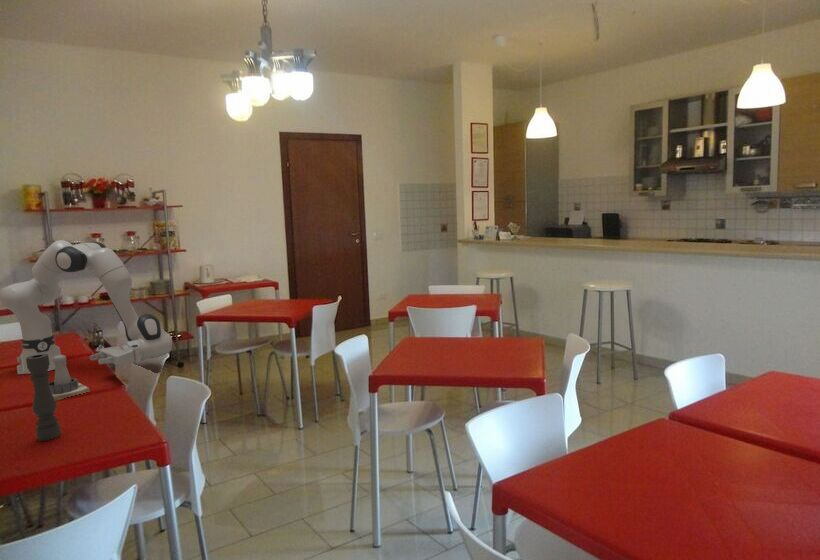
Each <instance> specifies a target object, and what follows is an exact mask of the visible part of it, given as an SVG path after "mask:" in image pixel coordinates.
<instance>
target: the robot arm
mask: <svg viewBox="0 0 820 560" xmlns="http://www.w3.org/2000/svg"><path fill="white" fill-rule="evenodd" d="M87 270H92V271H93V272H94V274H95V275H96V276H97V278H98V280H99V281H100V283H101V285H102V287H103V288H104V289H105V291H106V293H107V295H108V297H109V299H110V300H111V303H112V305H113V307H114V309H115V311H116V312H117V315H118V317H119V318H120V321H121V323H122V324H123V326H124V330H125V337H126V339H127V341H124V342H123V345H121V346H118V345H114V346H109V347H104V348H100V349H99V350H98V352H97V353H95V354H92V355H90V356H89V359H90V361H96V360H97V363H98V365H103V364H114V365H116V366H123V365H124V366H125V365H131V364H141V363H142V362H143V361H145V360H147V359H155V358H159V357H163V356H166V355H167V354H170V352H171V351H172V349H173V343H174V342H173V338H172V336H171V335H170V334H169V333H167V332H166V330H164V328H163V327H162V325H161V323H160V321H159V318H158V317H156V316H155V315H154V314H151V313H150V314H149V313H145V314H142V315H141V316H139V315H138V314H137V312H136V310H135V308H134V306H133V304H132V301H131V290H132V285H133V280H132V276H131V274H130V272H129V270H128V269H127V267H126V265H125V264H124V262H123V261H122V260H121V258H120V257H119V256H118V255H117V253H115V251H114V250H113V249H112V248H109V247H107V246H106V245H105V244H103V242H97V241H89V242H81V243H75V244H72V243H71V242H69V241H66V240H64V239H63V240H62V239H59V240H56V241H54V242H53V243H51V244H50V245H49V246H48V247H47V248H46V249H45V250H44V251H43V253H41V254H40V256H39V258H38V259H37V260H36V262H35V263H34V264H33V266H32V268H31V273H32V277H33V278H32V279H30V280H26V281H23V282H22V281H21V282H16V283H12V284H10V285H7V286H5V287H3V288H2V289H1V290H0V303H1V305H2V306H3V307H4V308H6V309H8V310H9V311H11V312H12V313H13V314H14V316H15V317H16V318H17V320H18V322H19V325H20V331H21V336H22V340H21V348H22V351H21V353H20V355H19V356H17V357H16V360H17V363H19V364H18V365H17V366H16V372H17V375H24V374H25V375H26V374H27V375H28V374H30V375H32V374H31V372H29V369H27V363H26V358H27V357H29V356H32V355H37V354H48V357H49V363H50V365H49V369H48V371H47V372H49V371H53V370H54V371H55V363H54V362H53V357H55V356H58V355H62V354H61V349H60V346H58V345H56V344H55V343H56V341H55V340H56V339H55V336H54V334H53V330H52V322H51V318H50V317H49V316H48V315H46V314H44V313H42V312H41V311H40V309H39V306H40V305H41V306H42V305H44V304H46V305H47V304H49V303H52V302H53V301H56V300H57V299H58V298H60V296H61V294H62V293H61V292H62V288H61V286H60V284H59V282H60V280H61V278H63V275H64V274H65V273H76V272H81V271H87ZM65 364H66V365H68V364H67V361H65Z"/></svg>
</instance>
